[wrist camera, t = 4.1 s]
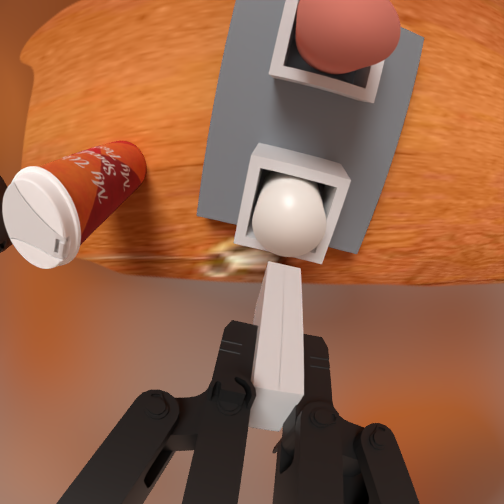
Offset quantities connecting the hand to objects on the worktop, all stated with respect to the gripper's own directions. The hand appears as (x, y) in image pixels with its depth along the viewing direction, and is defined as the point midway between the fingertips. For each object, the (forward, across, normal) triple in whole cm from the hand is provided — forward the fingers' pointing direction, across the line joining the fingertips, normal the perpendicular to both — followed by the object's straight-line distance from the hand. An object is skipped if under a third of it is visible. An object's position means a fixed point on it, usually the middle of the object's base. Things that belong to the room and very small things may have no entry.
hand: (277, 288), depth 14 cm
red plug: (+10, +1, +13) cm, 17 cm away
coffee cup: (+18, -17, -2) cm, 25 cm away
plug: (+14, +1, 0) cm, 14 cm away
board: (+17, +1, +6) cm, 19 cm away
